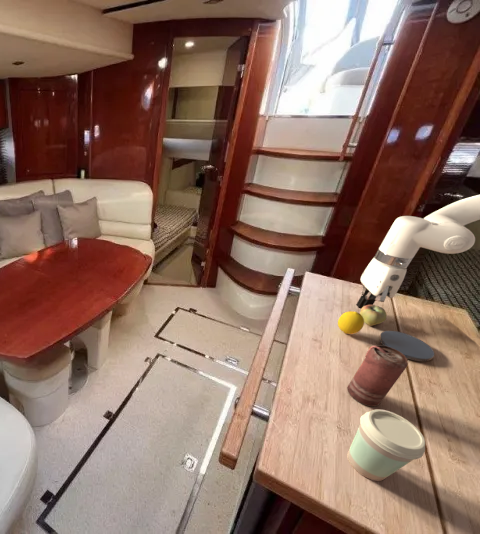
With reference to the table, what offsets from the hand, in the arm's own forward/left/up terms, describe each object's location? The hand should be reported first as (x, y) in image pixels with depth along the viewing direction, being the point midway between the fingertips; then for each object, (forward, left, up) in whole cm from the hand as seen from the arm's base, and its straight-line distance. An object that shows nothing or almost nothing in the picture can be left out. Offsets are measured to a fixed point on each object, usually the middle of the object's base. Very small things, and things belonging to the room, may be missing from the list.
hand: (362, 307), depth 99 cm
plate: (-4, +16, -2) cm, 16 cm away
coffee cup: (+22, +55, -2) cm, 59 cm away
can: (+15, +37, -2) cm, 40 cm away
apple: (0, +5, -2) cm, 5 cm away
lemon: (+9, +13, -2) cm, 16 cm away
